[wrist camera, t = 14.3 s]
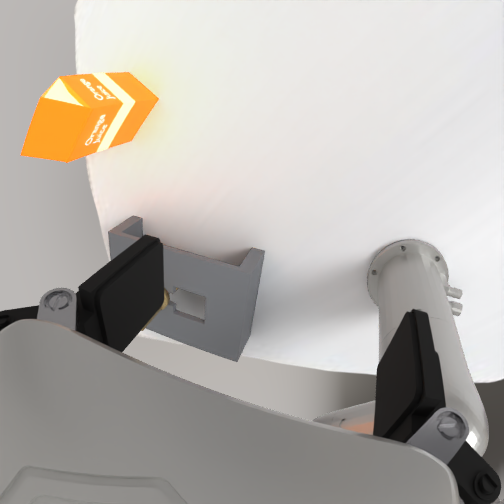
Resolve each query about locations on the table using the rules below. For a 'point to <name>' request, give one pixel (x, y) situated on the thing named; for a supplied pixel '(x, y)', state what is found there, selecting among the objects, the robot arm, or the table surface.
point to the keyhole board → (202, 294)
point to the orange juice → (87, 115)
